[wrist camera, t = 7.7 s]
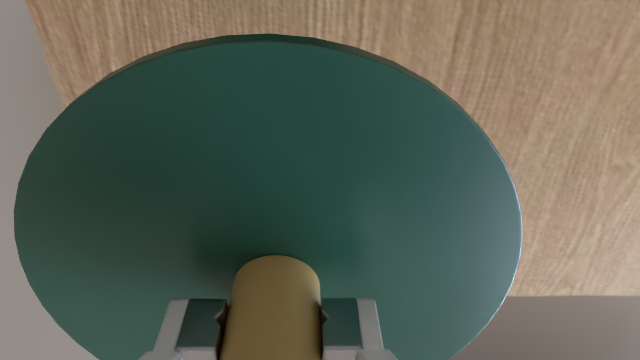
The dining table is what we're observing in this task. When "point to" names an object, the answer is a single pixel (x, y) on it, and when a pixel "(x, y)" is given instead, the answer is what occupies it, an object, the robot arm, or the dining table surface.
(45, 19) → the dining table surface
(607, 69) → the dining table surface
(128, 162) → the lid
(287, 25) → the dining table surface
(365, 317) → the robot arm
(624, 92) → the dining table surface
